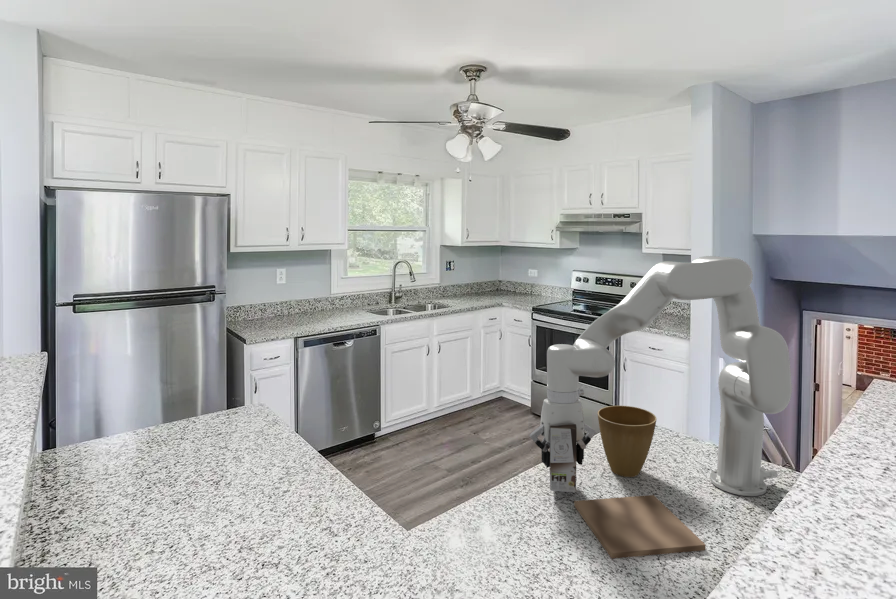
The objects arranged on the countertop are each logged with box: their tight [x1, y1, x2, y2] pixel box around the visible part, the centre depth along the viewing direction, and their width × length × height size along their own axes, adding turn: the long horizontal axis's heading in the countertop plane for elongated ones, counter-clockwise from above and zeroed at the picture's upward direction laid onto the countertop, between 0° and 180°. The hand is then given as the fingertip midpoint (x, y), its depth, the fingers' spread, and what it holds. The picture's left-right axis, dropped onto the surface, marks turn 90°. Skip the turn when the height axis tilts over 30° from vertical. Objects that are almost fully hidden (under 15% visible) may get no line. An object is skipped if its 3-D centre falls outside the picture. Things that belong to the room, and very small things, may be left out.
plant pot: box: [597, 405, 658, 478], centre depth 136 cm, size 15×15×16 cm
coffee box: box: [549, 424, 577, 493], centre depth 125 cm, size 9×6×16 cm
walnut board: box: [573, 494, 707, 560], centre depth 111 cm, size 20×20×1 cm
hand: (562, 463), depth 125 cm, fingers closed on coffee box, 7 cm apart
